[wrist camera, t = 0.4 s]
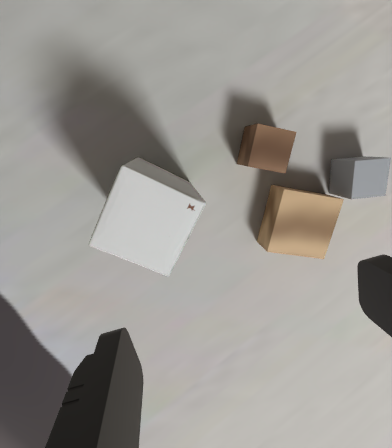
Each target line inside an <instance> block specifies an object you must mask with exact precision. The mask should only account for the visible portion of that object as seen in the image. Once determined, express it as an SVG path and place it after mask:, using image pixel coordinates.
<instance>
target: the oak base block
mask: <svg viewBox="0 0 392 448" xmlns="http://www.w3.org/2000/svg"><path fill="white" fill-rule="evenodd" d="M343 200H344V199H340V198H337V197H333V196H330V195H326V194H321V193H316V192H310V191H304V190H299V189H293V188H287V187H282V186H276V185H271V188H270V192H269V196H268V200H267V204H266V208H265V212H264V216H263V220H262V224H261V227H260V231H259V235H258V239H257V242H258V243H259V244H260V245H261V246H262V247H263V248H264V249H265V250H266V251H267V252H273V253H281V254H289V255H297V256H305V257H312V258H320V259H324V257H325V254H326V251H327V248H328V245H329V242H330V239H331V236H332V233H333V230H334V227H335V224H336V221H337V218H338V215H339V212H340V209H341V206H342V203H343Z"/></svg>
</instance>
